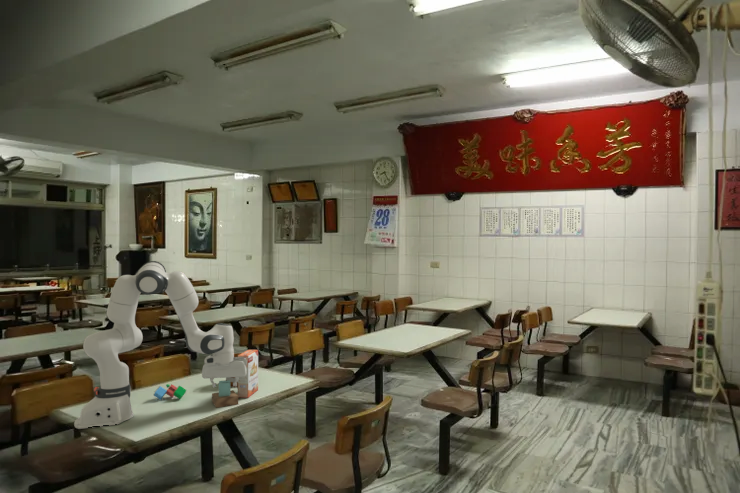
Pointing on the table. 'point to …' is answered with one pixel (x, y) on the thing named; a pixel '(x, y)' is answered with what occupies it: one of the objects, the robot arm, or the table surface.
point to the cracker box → (249, 375)
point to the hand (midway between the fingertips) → (224, 386)
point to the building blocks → (170, 391)
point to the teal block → (224, 388)
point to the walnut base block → (224, 399)
